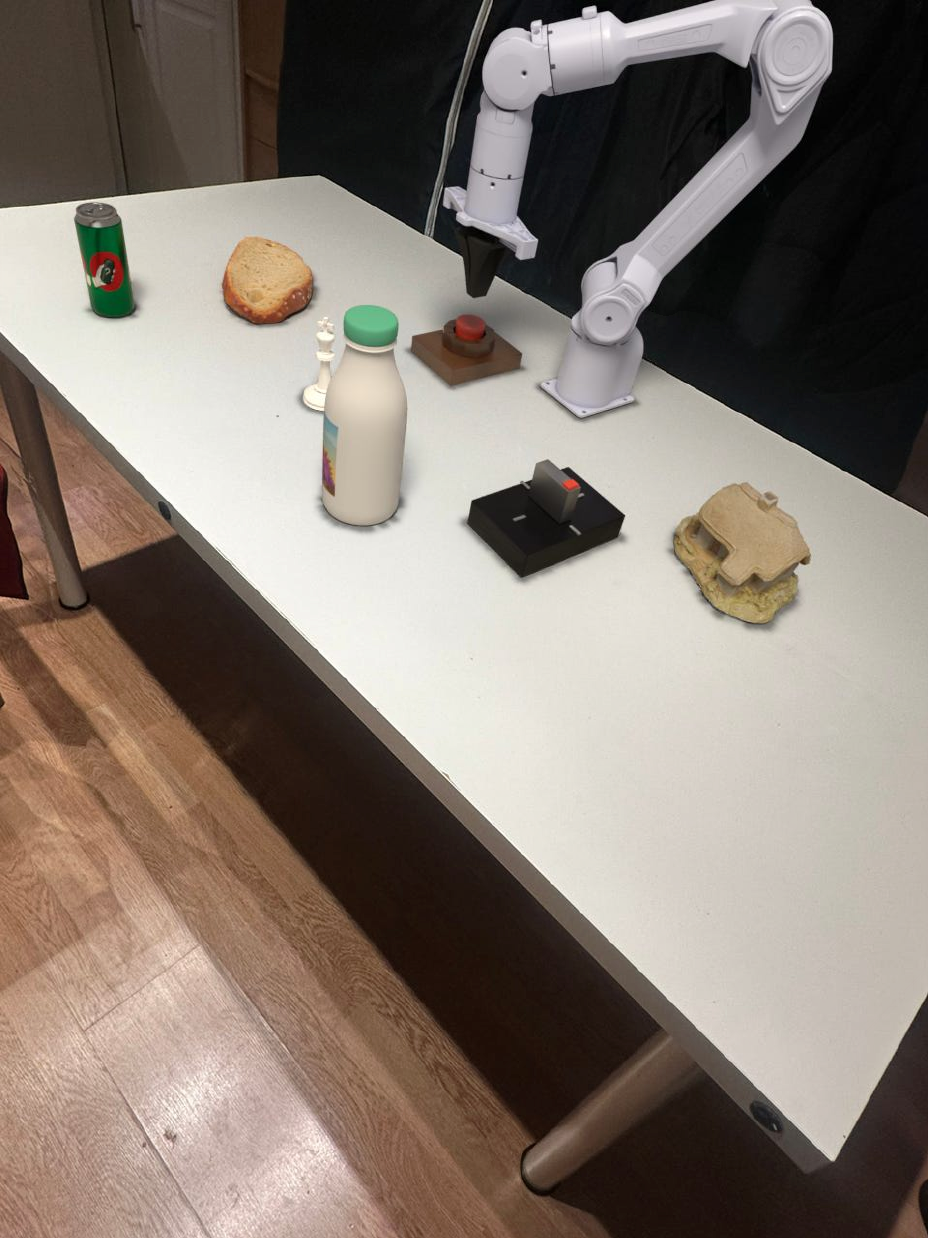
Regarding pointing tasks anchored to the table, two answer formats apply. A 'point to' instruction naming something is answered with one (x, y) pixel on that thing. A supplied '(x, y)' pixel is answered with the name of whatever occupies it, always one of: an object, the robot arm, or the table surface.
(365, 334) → the milk bottle
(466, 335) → the button
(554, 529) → the panel
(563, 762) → the table surface
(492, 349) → the brown button base
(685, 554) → the ceramic model
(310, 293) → the slice of bread
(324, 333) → the chess piece
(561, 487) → the knob
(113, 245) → the soda can
